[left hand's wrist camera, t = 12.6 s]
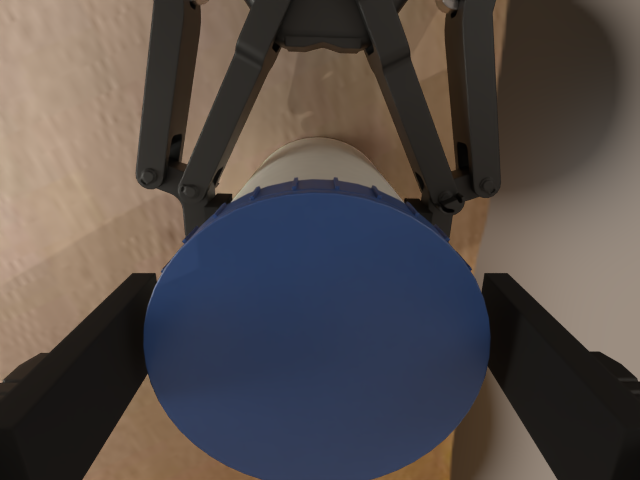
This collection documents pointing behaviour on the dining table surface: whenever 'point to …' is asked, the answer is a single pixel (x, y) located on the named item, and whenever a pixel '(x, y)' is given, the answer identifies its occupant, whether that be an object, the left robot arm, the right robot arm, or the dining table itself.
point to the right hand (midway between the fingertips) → (315, 319)
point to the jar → (317, 166)
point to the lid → (316, 333)
